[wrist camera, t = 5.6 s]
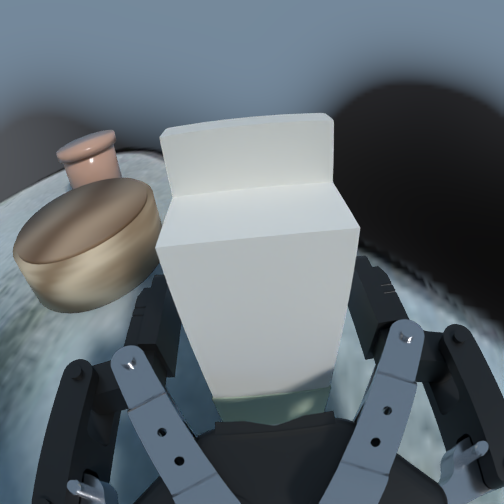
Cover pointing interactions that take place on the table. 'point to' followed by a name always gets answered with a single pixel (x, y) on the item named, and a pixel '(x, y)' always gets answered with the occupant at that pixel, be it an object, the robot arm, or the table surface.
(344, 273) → the carton
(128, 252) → the oak podium
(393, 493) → the robot arm
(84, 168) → the terracotta pot
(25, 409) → the table surface
